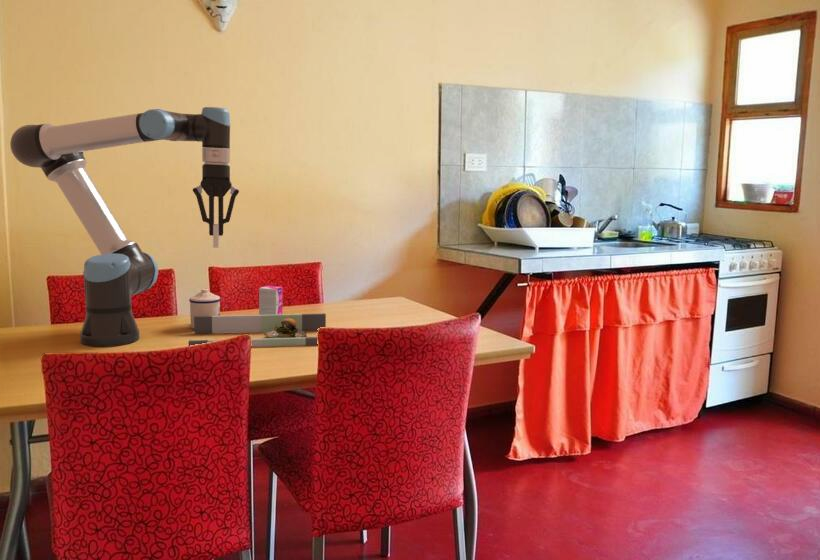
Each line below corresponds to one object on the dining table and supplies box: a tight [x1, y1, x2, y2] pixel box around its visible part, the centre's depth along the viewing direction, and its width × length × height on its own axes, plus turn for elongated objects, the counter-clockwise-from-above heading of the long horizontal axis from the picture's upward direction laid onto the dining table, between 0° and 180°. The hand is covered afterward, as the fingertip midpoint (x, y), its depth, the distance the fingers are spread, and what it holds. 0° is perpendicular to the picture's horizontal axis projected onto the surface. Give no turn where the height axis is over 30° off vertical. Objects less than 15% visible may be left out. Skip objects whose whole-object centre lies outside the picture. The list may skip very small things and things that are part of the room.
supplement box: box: [258, 285, 284, 315], centre depth 224 cm, size 6×6×12 cm
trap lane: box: [188, 312, 327, 348], centre depth 204 cm, size 38×18×5 cm, turn 102°
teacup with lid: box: [188, 288, 221, 330], centre depth 218 cm, size 12×9×12 cm
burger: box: [264, 316, 308, 338], centre depth 205 cm, size 12×12×8 cm
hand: (216, 246), depth 206 cm, fingers closed
